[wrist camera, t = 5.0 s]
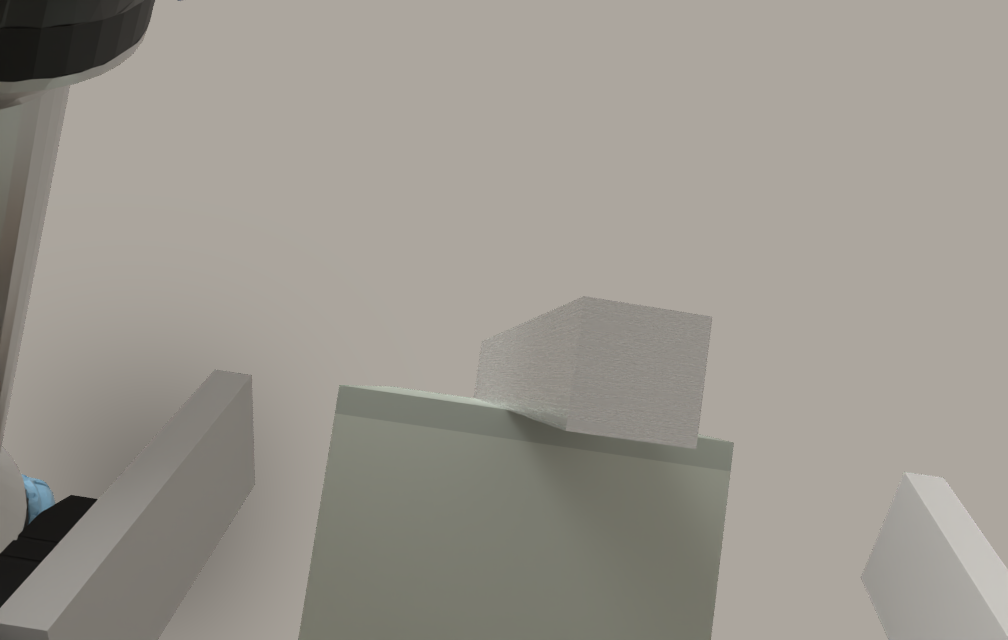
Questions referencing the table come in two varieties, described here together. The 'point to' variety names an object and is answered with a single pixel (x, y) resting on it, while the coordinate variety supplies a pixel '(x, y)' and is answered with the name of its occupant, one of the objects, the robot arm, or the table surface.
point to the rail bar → (602, 371)
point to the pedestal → (509, 527)
